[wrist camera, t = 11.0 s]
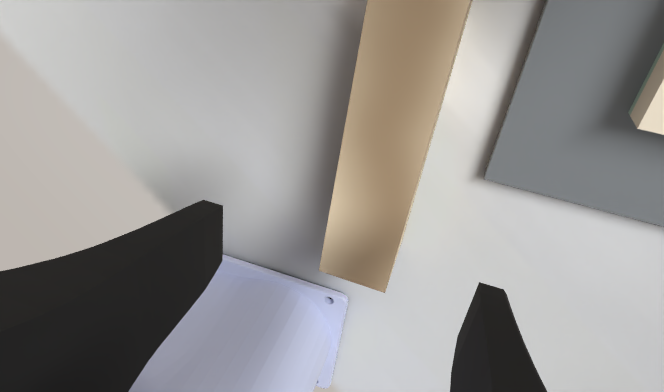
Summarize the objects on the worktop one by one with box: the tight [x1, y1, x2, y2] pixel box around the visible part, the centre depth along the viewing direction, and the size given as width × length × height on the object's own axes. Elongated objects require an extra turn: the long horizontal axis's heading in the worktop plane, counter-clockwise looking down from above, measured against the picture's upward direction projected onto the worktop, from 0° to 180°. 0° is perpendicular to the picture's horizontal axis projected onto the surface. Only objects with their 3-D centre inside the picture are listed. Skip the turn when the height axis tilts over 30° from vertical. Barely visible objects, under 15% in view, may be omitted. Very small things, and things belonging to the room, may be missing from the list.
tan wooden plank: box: [319, 0, 473, 293], centre depth 18 cm, size 3×16×4 cm, turn 171°
